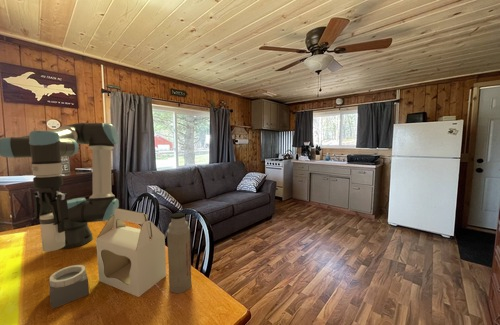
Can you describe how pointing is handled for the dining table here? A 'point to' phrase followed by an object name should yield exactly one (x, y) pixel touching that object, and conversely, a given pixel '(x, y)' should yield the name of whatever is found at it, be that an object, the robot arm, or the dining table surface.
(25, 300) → the dining table surface
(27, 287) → the dining table surface
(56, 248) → the beige rounded cylinder
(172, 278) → the thermos bottle
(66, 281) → the grey socket block
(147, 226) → the gable box
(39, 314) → the dining table surface
